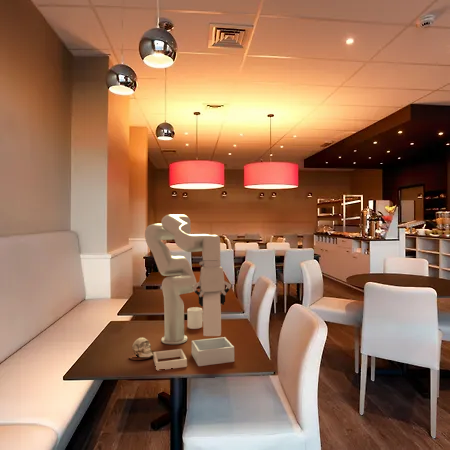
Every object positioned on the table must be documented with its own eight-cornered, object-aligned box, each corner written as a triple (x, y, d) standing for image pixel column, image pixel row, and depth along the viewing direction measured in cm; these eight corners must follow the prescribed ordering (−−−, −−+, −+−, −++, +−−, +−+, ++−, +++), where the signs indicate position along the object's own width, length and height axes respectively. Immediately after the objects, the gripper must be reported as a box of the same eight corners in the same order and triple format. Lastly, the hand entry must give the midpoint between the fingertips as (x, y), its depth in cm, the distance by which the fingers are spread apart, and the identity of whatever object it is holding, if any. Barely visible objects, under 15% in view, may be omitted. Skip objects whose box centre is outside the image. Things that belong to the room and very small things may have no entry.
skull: (164, 352, 153) (151, 339, 148) (149, 373, 148) (134, 360, 142) (148, 345, 161) (135, 332, 156) (134, 364, 156) (120, 352, 151)
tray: (153, 359, 148) (153, 352, 148) (181, 355, 151) (181, 348, 151) (156, 370, 136) (156, 362, 136) (186, 366, 140) (186, 359, 140)
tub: (191, 354, 153) (191, 340, 153) (225, 350, 157) (224, 337, 157) (198, 366, 140) (198, 351, 140) (234, 361, 145) (234, 347, 145)
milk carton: (220, 336, 145) (219, 290, 145) (203, 336, 145) (202, 290, 145) (221, 331, 152) (220, 287, 152) (204, 331, 152) (204, 287, 152)
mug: (208, 329, 188) (208, 311, 188) (186, 328, 190) (186, 310, 189) (210, 324, 196) (210, 307, 196) (189, 324, 198) (189, 307, 197)
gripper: (193, 266, 142) (193, 308, 142) (233, 264, 147) (234, 305, 147) (189, 264, 149) (190, 304, 149) (228, 262, 154) (228, 301, 155)
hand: (212, 304), depth 148 cm, fingers closed on milk carton, 8 cm apart
